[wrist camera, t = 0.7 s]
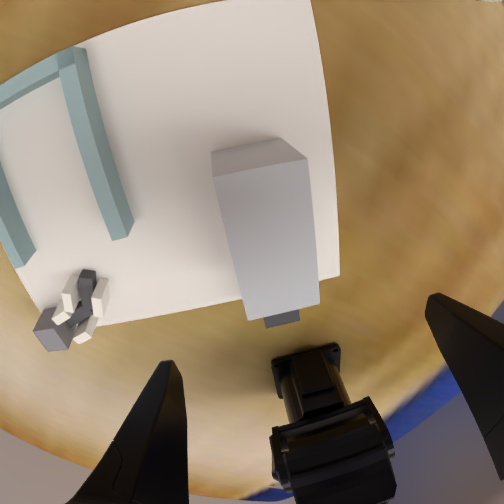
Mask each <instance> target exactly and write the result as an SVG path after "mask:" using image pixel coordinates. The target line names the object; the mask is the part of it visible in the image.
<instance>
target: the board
mask: <svg viewBox="0 0 504 504" xmlns="http://www.w3.org/2000/svg"><path fill="white" fill-rule="evenodd" d="M75 47H80V48H85V49H86V52H87V57H88V62H89V67H90V71H91V76H92V80H93V85H94V89H95V93H96V97H97V101H98V105H99V109H100V113H101V117H102V120H103V124H104V128H105V131H106V135H107V138H108V142H109V145H110V149H111V152H112V155H113V159H114V162H115V165H116V168H117V171H118V174H119V178H120V181H121V184H122V187H123V190H124V193H125V196H126V199H127V202H128V204H129V207H130V210H131V213H132V216H133V219H134V221H135V222H134V224H133V226H132V229H131V231H130V233H129V235H128V237H126V238H122V239H119V240H115V241H112V239H111V237H110V234H109V232H108V230H107V227H106V225H105V222H104V219H103V217H102V214H101V212H100V209H99V206H98V204H97V201H96V198H95V195H94V193H93V190H92V187H91V184H90V181H89V178H88V175H87V173H86V170H85V166H84V163H83V160H82V157H81V154H80V151H79V148H78V144H77V141H76V138H75V134H74V131H73V127H72V124H71V120H70V116H69V112H68V109H67V105H66V101H65V97H64V93H63V88H62V84H61V79H60V77H59V78H57V79H55V80H53V81H51V82H49V83H47V84H45V85H43V86H41V87H39V88H37V89H35V90H33V91H31V92H30V93H28V94H26V95H24V96H22V97H21V98H19V99H17V100H15V101H14V102H12V103H10V104H9V105H7V106H5V107H4V108H2V109H1V110H0V162H1V165H2V168H3V171H4V174H5V177H6V180H7V183H8V185H9V188H10V191H11V193H12V196H13V198H14V201H15V204H16V206H17V208H18V211H19V213H20V216H21V218H22V220H23V223H24V225H25V227H26V229H27V232H28V234H29V236H30V238H31V240H32V242H33V244H34V246H35V249H36V252H35V253H34V254H33V256H32V257H31V258H30V260H29V261H28V262H27V264H26V265H25V266H23V267H20V268H17V269H15V268H14V269H15V271H16V272H17V274H18V276H19V278H20V280H21V281H22V283H23V285H24V287H25V288H26V290H27V292H28V293H29V295H30V297H31V298H32V300H33V302H34V303H35V305H36V307H37V308H38V310H39V311H40V313H41V314H42V312H43V310H44V309H47V308H52V307H57V306H58V304H59V302H60V300H61V299H62V295H61V292H62V291H63V289H64V287H65V285H66V283H67V281H68V279H69V278H70V276H71V274H75V275H80V273H81V271H82V269H85V270H93V271H96V280H97V283H98V280H99V278H104V279H109V288H110V299H109V302H108V305H107V308H106V311H105V314H104V317H103V318H102V317H99V318H98V321H97V324H96V327H98V326H104V325H110V324H116V323H121V322H127V321H133V320H138V319H144V318H149V317H154V316H160V315H165V314H170V313H175V312H180V311H186V310H191V309H196V308H200V307H205V306H210V305H215V304H220V303H224V302H229V301H234V300H238V299H242V296H241V292H240V288H239V284H238V281H237V277H236V273H235V269H234V265H233V261H232V257H231V253H230V249H229V245H228V240H227V236H226V232H225V228H224V224H223V220H222V216H221V212H220V208H219V203H218V199H217V195H216V191H215V187H214V182H213V178H212V162H211V152H212V151H217V150H221V149H226V148H230V147H235V146H240V145H245V144H250V143H255V142H260V141H266V140H271V139H277V138H282V139H283V140H285V141H286V142H287V143H289V144H290V145H291V146H292V147H294V148H295V149H296V150H297V151H299V152H300V153H301V154H302V155H304V156H305V157H306V158H307V159H308V167H309V176H310V185H311V194H312V204H313V215H314V226H315V238H316V250H317V264H318V279H319V281H320V280H325V279H329V278H333V277H337V276H340V268H339V234H338V212H337V196H336V181H335V168H334V157H333V146H332V136H331V127H330V118H329V110H328V102H327V95H326V87H325V80H324V74H323V67H322V61H321V55H320V49H319V43H318V38H317V32H316V27H315V22H314V17H313V12H312V7H311V2H310V0H226V1H220V2H214V3H209V4H204V5H199V6H194V7H189V8H185V9H180V10H176V11H172V12H168V13H165V14H161V15H157V16H154V17H150V18H147V19H144V20H140V21H137V22H134V23H131V24H128V25H125V26H122V27H119V28H117V29H114V30H111V31H108V32H106V33H103V34H101V35H98V36H96V37H93V38H91V39H88V40H86V41H84V42H81V43H79V44H77V45H75ZM5 252H6V251H5ZM12 265H13V264H12ZM13 267H14V266H13ZM79 301H81V298H80V300H79ZM76 325H78V324H76ZM76 328H77V327H76Z"/></svg>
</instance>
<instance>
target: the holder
mask: <svg viewBox="0 0 504 504" xmlns="http://www.w3.org/2000/svg"><path fill="white" fill-rule="evenodd" d="M59 77H60V79H61V84H62V88H63V93H64V97H65V101H66V105H67V109H68V112H69V116H70V120H71V124H72V127H73V131H74V134H75V138H76V141H77V144H78V148H79V151H80V154H81V157H82V160H83V163H84V166H85V170H86V173H87V175H88V178H89V181H90V184H91V187H92V190H93V193H94V195H95V198H96V201H97V204H98V206H99V209H100V212H101V214H102V217H103V219H104V222H105V225H106V227H107V230H108V232H109V234H110V237H111V239H112V241H115V240H119V239H122V238H126V237H128V235H129V233H130V231H131V229H132V226H133V224H134V222H135V221H134V219H133V216H132V213H131V210H130V207H129V204H128V202H127V199H126V196H125V193H124V190H123V187H122V184H121V181H120V178H119V174H118V171H117V168H116V165H115V162H114V159H113V155H112V152H111V149H110V145H109V142H108V138H107V135H106V131H105V128H104V124H103V120H102V117H101V113H100V109H99V105H98V101H97V97H96V93H95V89H94V85H93V80H92V76H91V71H90V67H89V62H88V57H87V52H86V49H85V48H80V47H75V46H70V47H68V48H66V49H64V50H62V51H60V52H58V53H56V54H54V55H52V56H50V57H48V58H46V59H44V60H42V61H40V62H38V63H37V64H35V65H33V66H31V67H29V68H28V69H26V70H24V71H22V72H21V73H19V74H17V75H16V76H14V77H12V78H11V79H9V80H8V81H6V82H5V83H3V84H1V85H0V110H1V109H2V108H4V107H5V106H7V105H9V104H10V103H12V102H14V101H15V100H17V99H19V98H21V97H22V96H24V95H26V94H28V93H30V92H31V91H33V90H35V89H37V88H39V87H41V86H43V85H45V84H47V83H49V82H51V81H53V80H55V79H57V78H59ZM0 241H1V243H2V245H3V247H4V249H5V251H6V253H7V255H8V257H9V259H10V261H11V263H12V264H13V266H14V268H15V269H17V268H20V267H23V266H25V265H26V264H27V262H28V261H29V260H30V258H31V257H32V256H33V254H34V253H35V252H36V249H35V246H34V244H33V242H32V240H31V238H30V236H29V234H28V232H27V229H26V227H25V225H24V223H23V220H22V218H21V216H20V213H19V211H18V208H17V206H16V204H15V201H14V198H13V196H12V193H11V191H10V188H9V185H8V183H7V180H6V177H5V174H4V171H3V168H2V165H1V162H0Z"/></svg>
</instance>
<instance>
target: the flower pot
mask: <svg viewBox="0 0 504 504" xmlns="http://www.w3.org/2000/svg"><path fill="white" fill-rule="evenodd" d="M477 1H482V2H491V3H494V2H500V1H502V0H477Z"/></svg>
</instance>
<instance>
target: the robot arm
mask: <svg viewBox="0 0 504 504" xmlns="http://www.w3.org/2000/svg"><path fill="white" fill-rule="evenodd" d="M425 318H426V320H427V322H428V325H429V327H430V329H431V331H432V333H433V336H434V338H435V340H436V343H437V345H438V347H439V349H440V352H441V353H442V355H443V357H444V359H445V361H446V363H447V365H448V366H449V368H450V370H451V372H452V374H453V376H454V378H455V380H456V381H457V383H458V385H459V387H460V389H461V391H462V393H463V395H464V397H465V399H466V401H467V403H468V405H469V408H470V410H471V412H472V414H473V416H474V418H475V420H476V422H477V425H478V427H479V429H480V431H481V434H482V436H483V438H484V441H485V443H486V445H487V448H488V450H489V453H490V455H491V457H492V460H493V462H494V465H495V468H496V470H497V473H498V476H499V478H500V480H501V481H502V480H503V479H504V324H503V323H501V322H499V321H497V320H495V319H493V318H491V317H489V316H487V315H485V314H483V313H481V312H479V311H477V310H475V309H473V308H471V307H469V306H467V305H464V304H462V303H460V302H458V301H456V300H454V299H452V298H450V297H448V296H446V295H444V294H441V293H435V294H432V295H430V296H429V297H428V300H427V305H426V309H425ZM340 352H341V349H340V346H339V345H338V344H333V345H329V346H326V347H322V348H318V349H314V350H311V351H307V352H303V353H299V354H295V355H291V356H287V357H282V358H278V359H274V360H273V361H272V362H271V366H272V371H273V375H274V380H275V384H276V389H277V393H278V397H279V398H280V399H284V403H285V407H286V411H287V415H288V419H289V424H287V425H283V426H279V427H278V426H276V427H272V433H273V435H271V436H270V437H269V439H270V444H271V450H272V476H273V478H274V479H275V480H277V481H279V482H280V483H281V485H282V486H283V488H284V490H285V492H286V493H290V492H293V495H294V498H295V501H296V504H388V502H389V500H391V499H393V498H394V496H395V492H396V487H397V485H396V481H395V477H394V473H393V469H392V466H391V462H390V459H393V458H394V456H395V452H394V446H393V442H392V439H391V436H390V433H389V431H388V429H387V427H386V425H385V423H384V421H383V420H382V418H381V416H380V414H379V413H378V411H377V409H376V407H375V406H374V404H373V402H372V400H371V399H370V397H369V396H367V397H365V398H363V399H362V400H360V401H357V402H355V403H352V404H351V401H350V399H349V396H348V394H347V391H346V389H345V386H344V384H343V381H342V379H341V377H340V374H339V372H340ZM113 440H114V441H112V442H111V444H110V446H109V447H108V449H107V451H106V452H105V454H104V455H103V457H102V459H101V460H100V462H99V463H98V465H97V466H96V467H95V469H94V470H93V472H92V473H91V474H90V476H89V477H88V478H87V480H86V481H85V482H84V483H83V485H82V486H81V488H80V489H79V490H78V491H77V493H76V494H75V495H74V496H73V498H71V499H70V500H69V501H68V502H67V503H65V504H189V491H188V456H187V415H186V406H185V398H184V389H183V380H182V376H181V373H180V372H179V370H178V368H177V366H176V364H175V363H174V361H173V360H165V361H161V362H160V363H159V364H158V366H157V368H156V369H155V371H154V373H153V374H152V376H151V378H150V379H149V381H148V382H147V384H146V386H145V387H144V389H143V391H142V392H141V394H140V396H139V397H138V399H137V401H136V402H135V404H134V406H133V407H132V409H131V411H130V412H129V414H128V416H127V417H126V419H125V421H124V422H123V424H122V426H121V427H120V429H119V431H118V432H117V434H116V436H115V437H114V439H113Z"/></svg>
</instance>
